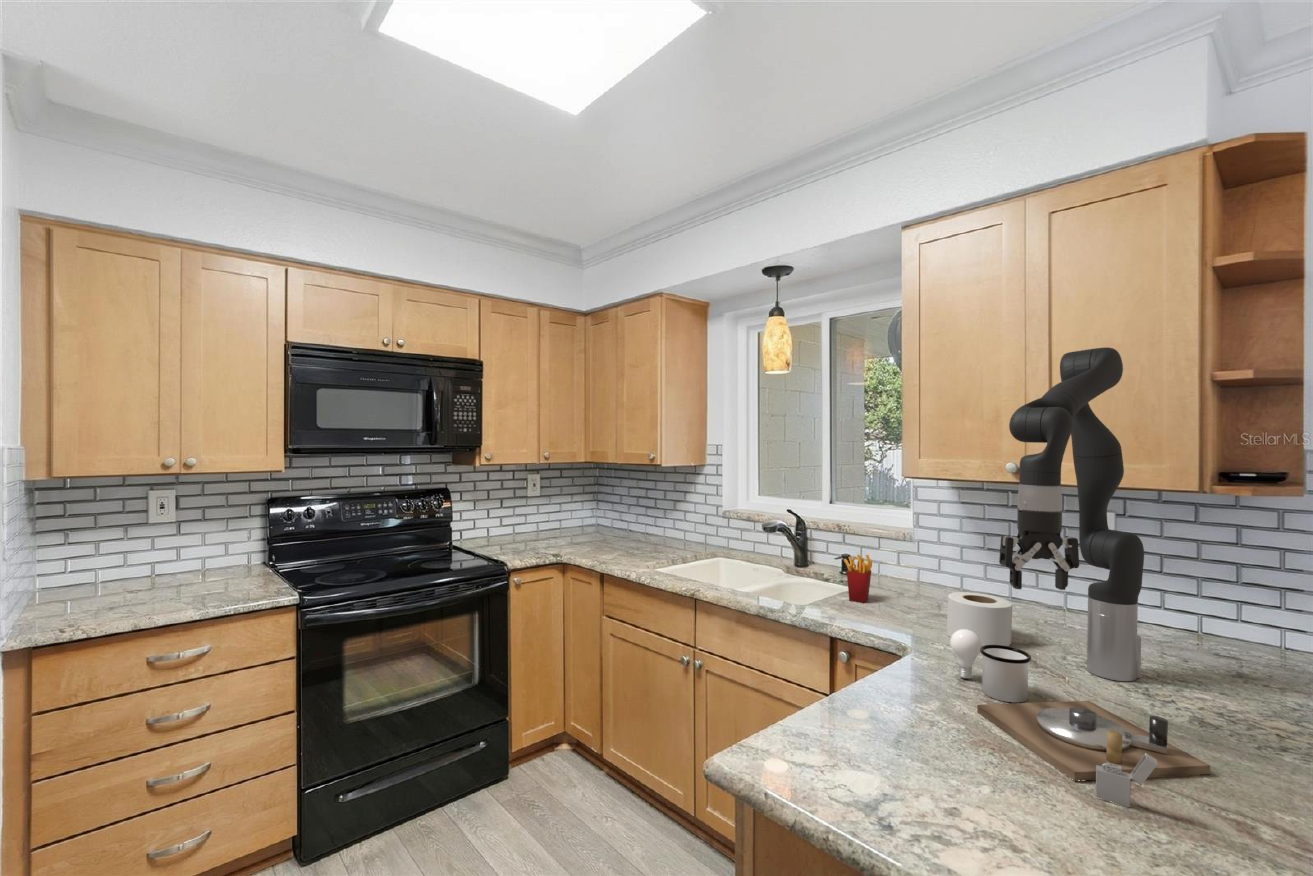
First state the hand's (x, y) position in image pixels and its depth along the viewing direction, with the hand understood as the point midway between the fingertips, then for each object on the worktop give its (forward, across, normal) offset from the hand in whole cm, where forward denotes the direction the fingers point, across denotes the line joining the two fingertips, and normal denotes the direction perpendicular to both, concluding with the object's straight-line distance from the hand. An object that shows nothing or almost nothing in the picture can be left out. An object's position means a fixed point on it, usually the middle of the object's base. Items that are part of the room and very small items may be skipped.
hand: (1038, 588), depth 121 cm
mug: (+24, +2, -8) cm, 26 cm away
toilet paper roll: (+25, -10, -44) cm, 51 cm away
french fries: (+24, +12, -80) cm, 85 cm away
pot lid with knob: (+22, -3, +14) cm, 26 cm away
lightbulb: (+24, +7, -15) cm, 29 cm away
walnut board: (+24, -1, +12) cm, 27 cm away
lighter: (+24, +6, +31) cm, 40 cm away
